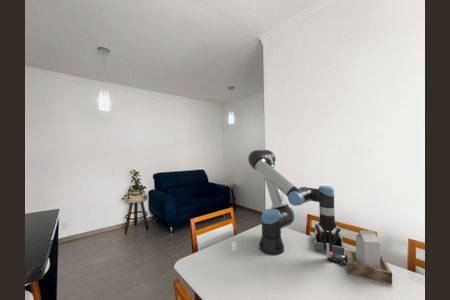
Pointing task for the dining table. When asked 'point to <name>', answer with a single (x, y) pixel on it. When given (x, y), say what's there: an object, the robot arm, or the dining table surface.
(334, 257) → the lock pin
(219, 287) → the dining table surface
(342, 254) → the pin mount
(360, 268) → the wooden tray
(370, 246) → the milk carton
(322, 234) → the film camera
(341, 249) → the valet tray
